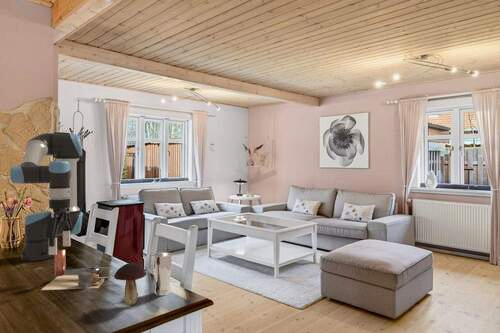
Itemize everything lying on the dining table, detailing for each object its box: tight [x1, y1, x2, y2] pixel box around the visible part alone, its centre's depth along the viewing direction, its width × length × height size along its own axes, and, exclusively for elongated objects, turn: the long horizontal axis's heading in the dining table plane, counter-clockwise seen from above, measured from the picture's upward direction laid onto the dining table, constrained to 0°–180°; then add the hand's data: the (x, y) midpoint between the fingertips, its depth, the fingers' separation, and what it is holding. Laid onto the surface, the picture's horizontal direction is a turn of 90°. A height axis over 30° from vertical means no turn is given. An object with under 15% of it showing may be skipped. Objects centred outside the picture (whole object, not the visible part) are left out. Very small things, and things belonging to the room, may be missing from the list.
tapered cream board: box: [40, 269, 113, 291], centre depth 143 cm, size 21×21×6 cm
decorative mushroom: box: [113, 262, 148, 306], centre depth 122 cm, size 11×11×15 cm
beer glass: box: [152, 251, 173, 297], centre depth 133 cm, size 7×7×15 cm
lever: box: [54, 248, 111, 278], centre depth 143 cm, size 5×22×11 cm, turn 97°
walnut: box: [92, 273, 99, 283], centre depth 139 cm, size 4×4×4 cm
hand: (60, 250), depth 142 cm, fingers open, 13 cm apart
